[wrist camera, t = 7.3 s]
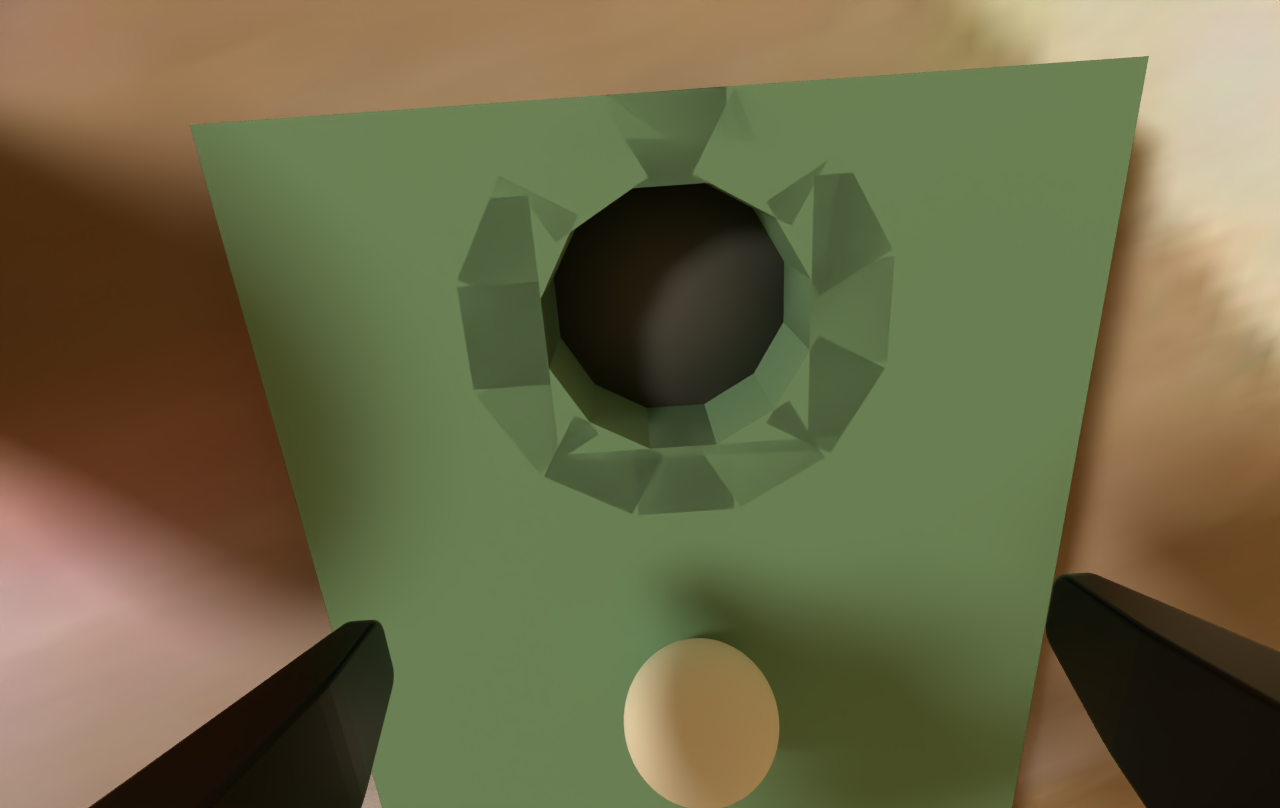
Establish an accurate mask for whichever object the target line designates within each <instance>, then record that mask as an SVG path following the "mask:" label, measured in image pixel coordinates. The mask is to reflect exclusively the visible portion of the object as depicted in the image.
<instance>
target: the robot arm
mask: <svg viewBox="0 0 1280 808" xmlns="http://www.w3.org/2000/svg"><path fill="white" fill-rule="evenodd" d="M1046 633H1047V638H1048V641H1049V643H1050V645H1051V647H1052V649H1053V651H1054V653H1055V655H1056V657H1057V658H1058V660H1059V662H1060V664H1061V666H1062V668H1063V669H1064V671H1065V673H1066V675H1067V677H1068V678H1069V680H1070V682H1071V684H1072V686H1073V688H1074V689H1075V691H1076V693H1077V695H1078V697H1079V699H1080V700H1081V702H1082V704H1083V706H1084V708H1085V710H1086V711H1087V713H1088V715H1089V717H1090V719H1091V720H1092V722H1093V724H1094V726H1095V728H1096V730H1097V731H1098V733H1099V735H1100V737H1101V738H1102V740H1103V742H1104V744H1105V745H1106V747H1107V749H1108V750H1109V752H1110V754H1111V755H1112V757H1113V758H1114V760H1115V761H1116V763H1117V765H1118V766H1119V768H1120V769H1121V771H1122V772H1123V774H1124V775H1125V777H1126V778H1127V780H1128V781H1129V783H1130V784H1131V786H1132V787H1133V789H1134V790H1135V792H1136V793H1137V795H1138V796H1139V798H1140V799H1141V800H1142V802H1143V803H1144V805H1145V806H1146V808H1280V652H1278V651H1276V650H1274V649H1271V648H1269V647H1267V646H1264V645H1262V644H1259V643H1257V642H1255V641H1252V640H1250V639H1248V638H1245V637H1243V636H1240V635H1238V634H1236V633H1233V632H1231V631H1229V630H1226V629H1224V628H1222V627H1219V626H1217V625H1214V624H1212V623H1210V622H1207V621H1205V620H1203V619H1200V618H1198V617H1195V616H1193V615H1191V614H1188V613H1186V612H1184V611H1181V610H1179V609H1176V608H1174V607H1172V606H1169V605H1167V604H1165V603H1162V602H1160V601H1158V600H1155V599H1153V598H1150V597H1148V596H1146V595H1143V594H1141V593H1139V592H1136V591H1134V590H1131V589H1129V588H1127V587H1124V586H1122V585H1120V584H1117V583H1115V582H1113V581H1110V580H1108V579H1105V578H1103V577H1101V576H1098V575H1096V574H1093V573H1075V574H1063V575H1060V576H1058V577H1057V578H1056V580H1055V581H1054V584H1053V588H1052V594H1051V599H1050V605H1049V610H1048V616H1047V621H1046ZM393 682H394V669H393V664H392V660H391V656H390V652H389V648H388V644H387V640H386V636H385V632H384V629H383V626H382V624H381V623H380V622H379V621H377V620H359V621H349V622H347V623H345V624H343V625H342V626H340V627H339V628H338V629H336V630H335V631H333V632H332V633H331V634H329V635H328V636H327V637H325V638H324V639H322V640H321V641H320V642H318V643H317V644H315V645H314V646H313V647H311V648H310V649H308V650H307V651H306V652H304V653H303V654H302V655H300V656H299V657H297V658H296V659H295V660H293V661H292V662H290V663H289V664H288V665H286V666H285V667H283V668H282V669H281V670H279V671H278V672H277V673H275V674H274V675H272V676H271V677H270V678H268V679H267V680H265V681H264V682H263V683H261V684H260V685H258V686H257V687H256V688H254V689H253V690H252V691H250V692H249V693H247V694H246V695H245V696H243V697H242V698H240V699H239V700H238V701H236V702H235V703H233V704H232V705H231V706H229V707H228V708H226V709H225V710H224V711H222V712H221V713H220V714H218V715H217V716H215V717H214V718H213V719H211V720H210V721H208V722H207V723H206V724H204V725H203V726H201V727H200V728H199V729H197V730H196V731H194V732H193V733H192V734H190V735H189V736H188V737H186V738H185V739H183V740H182V741H181V742H179V743H178V744H176V745H175V746H174V747H172V748H171V749H169V750H168V751H167V752H165V753H164V754H162V755H161V756H160V757H158V758H157V759H156V760H154V761H153V762H151V763H150V764H149V765H147V766H146V767H144V768H143V769H142V770H140V771H139V772H137V773H136V774H135V775H133V776H132V777H130V778H129V779H128V780H126V781H125V782H123V783H122V784H121V785H119V786H118V787H117V788H115V789H114V790H112V791H111V792H110V793H108V794H107V795H105V796H104V797H103V798H101V799H100V800H98V801H97V802H96V803H94V804H93V805H91V806H90V807H89V808H361V807H362V804H363V801H364V797H365V794H366V790H367V787H368V783H369V779H370V775H371V771H372V767H373V763H374V759H375V755H376V751H377V748H378V744H379V740H380V736H381V732H382V728H383V724H384V720H385V716H386V712H387V708H388V704H389V700H390V696H391V692H392V688H393Z"/></svg>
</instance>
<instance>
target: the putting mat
mask: <svg viewBox="0 0 1280 808" xmlns="http://www.w3.org/2000/svg"><path fill="white" fill-rule="evenodd" d="M1148 57H1149V56H1145V57H1132V58H1118V59H1104V60H1090V61H1076V62H1062V63H1048V64H1034V65H1020V66H1006V67H992V68H978V69H964V70H950V71H936V72H922V73H908V74H894V75H880V76H866V77H852V78H838V79H824V80H810V81H796V82H783V83H769V84H755V85H741V86H727V87H713V88H699V89H685V90H671V91H657V92H643V93H629V94H615V95H601V96H587V97H573V98H559V99H545V100H531V101H517V102H503V103H489V104H475V105H461V106H447V107H434V108H420V109H406V110H392V111H378V112H364V113H350V114H336V115H322V116H308V117H294V118H280V119H266V120H252V121H238V122H224V123H210V124H196V125H190V128H191V131H192V135H193V138H194V142H195V146H196V149H197V153H198V156H199V160H200V163H201V167H202V170H203V174H204V177H205V181H206V185H207V188H208V192H209V195H210V199H211V202H212V206H213V209H214V213H215V217H216V220H217V224H218V227H219V231H220V234H221V238H222V241H223V245H224V248H225V252H226V256H227V259H228V263H229V266H230V270H231V273H232V277H233V280H234V284H235V287H236V291H237V295H238V298H239V302H240V305H241V309H242V312H243V316H244V319H245V323H246V327H247V330H248V334H249V337H250V341H251V344H252V348H253V351H254V355H255V358H256V362H257V366H258V369H259V373H260V376H261V380H262V383H263V387H264V390H265V394H266V397H267V401H268V405H269V408H270V412H271V415H272V419H273V422H274V426H275V429H276V433H277V437H278V440H279V444H280V447H281V451H282V454H283V458H284V461H285V465H286V468H287V472H288V476H289V479H290V483H291V486H292V490H293V493H294V497H295V500H296V504H297V507H298V511H299V515H300V518H301V522H302V525H303V529H304V532H305V536H306V539H307V543H308V546H309V550H310V554H311V557H312V561H313V564H314V568H315V571H316V575H317V578H318V582H319V586H320V589H321V593H322V596H323V600H324V603H325V607H326V610H327V614H328V617H329V621H330V625H331V628H332V632H333V631H335V630H336V629H338V628H339V627H340V626H342V625H343V624H345V623H347V622H349V621H359V620H377V621H379V622H380V623H381V624H382V626H383V629H384V632H385V636H386V640H387V644H388V648H389V652H390V656H391V660H392V664H393V669H394V682H393V688H392V692H391V696H390V700H389V704H388V708H387V712H386V716H385V720H384V724H383V728H382V732H381V736H380V740H379V744H378V748H377V751H376V755H375V759H374V763H373V767H372V774H373V777H374V781H375V784H376V788H377V791H378V795H379V798H380V802H381V806H382V808H686V807H683V806H680V805H677V804H675V803H672V802H671V801H669V800H667V799H665V798H664V797H662V796H661V795H660V794H658V793H657V792H656V791H655V790H654V789H652V788H651V787H650V786H649V784H648V783H647V782H646V781H645V780H644V779H643V777H642V776H641V775H640V773H639V772H638V770H637V768H636V767H635V765H634V763H633V761H632V758H631V756H630V753H629V750H628V747H627V743H626V739H625V733H624V709H625V702H626V698H627V694H628V691H629V688H630V686H631V684H632V682H633V680H634V678H635V676H636V674H637V672H638V671H639V670H640V668H641V667H642V666H643V664H644V663H645V662H646V661H647V660H648V659H649V658H650V657H651V656H652V655H654V654H655V653H656V652H657V651H659V650H660V649H662V648H663V647H665V646H667V645H669V644H671V643H674V642H677V641H680V640H685V639H692V638H706V639H713V640H717V641H720V642H723V643H726V644H728V645H730V646H732V647H734V648H736V649H738V650H739V651H741V652H742V653H743V654H745V655H746V656H747V657H748V658H749V659H751V660H752V661H753V662H754V664H755V665H756V666H757V667H758V668H759V669H760V671H761V672H762V673H763V675H764V676H765V678H766V680H767V681H768V683H769V685H770V687H771V690H772V692H773V695H774V697H775V701H776V704H777V709H778V714H779V740H778V746H777V750H776V754H775V757H774V760H773V762H772V765H771V767H770V769H769V771H768V772H767V774H766V776H765V777H764V779H763V780H762V781H761V783H760V784H759V785H758V786H757V787H756V788H755V789H754V790H753V791H752V792H751V793H750V794H749V795H747V796H746V797H745V798H743V799H741V800H740V801H738V802H736V803H734V804H732V805H729V806H727V807H723V808H1012V805H1013V799H1014V794H1015V788H1016V783H1017V777H1018V772H1019V766H1020V761H1021V755H1022V750H1023V744H1024V739H1025V733H1026V728H1027V722H1028V717H1029V711H1030V706H1031V700H1032V695H1033V689H1034V684H1035V678H1036V673H1037V667H1038V662H1039V656H1040V651H1041V645H1042V640H1043V634H1044V629H1045V623H1046V618H1047V612H1048V607H1049V601H1050V596H1051V590H1052V585H1053V579H1054V574H1055V568H1056V563H1057V557H1058V552H1059V546H1060V541H1061V535H1062V530H1063V524H1064V519H1065V513H1066V508H1067V502H1068V497H1069V491H1070V486H1071V480H1072V475H1073V469H1074V464H1075V458H1076V453H1077V447H1078V442H1079V436H1080V431H1081V425H1082V420H1083V414H1084V409H1085V403H1086V398H1087V392H1088V387H1089V381H1090V376H1091V370H1092V365H1093V359H1094V354H1095V348H1096V343H1097V337H1098V332H1099V326H1100V321H1101V315H1102V310H1103V304H1104V299H1105V293H1106V288H1107V282H1108V277H1109V271H1110V266H1111V260H1112V255H1113V249H1114V244H1115V238H1116V233H1117V227H1118V222H1119V216H1120V211H1121V205H1122V200H1123V194H1124V189H1125V183H1126V178H1127V172H1128V167H1129V161H1130V156H1131V150H1132V145H1133V139H1134V134H1135V128H1136V123H1137V117H1138V112H1139V106H1140V101H1141V95H1142V90H1143V84H1144V79H1145V73H1146V68H1147V62H1148Z"/></svg>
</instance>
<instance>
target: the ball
mask: <svg viewBox="0 0 1280 808" xmlns="http://www.w3.org/2000/svg"><path fill="white" fill-rule="evenodd" d="M624 733H625V739H626V743H627V747H628V750H629V753H630V756H631V758H632V761H633V763H634V765H635V767H636V768H637V770H638V772H639V773H640V775H641V776H642V777H643V779H644V780H645V781H646V782H647V783H648V784H649V786H650V787H651V788H652V789H654V790H655V791H656V792H657V793H658V794H660V795H661V796H662V797H664V798H665V799H667V800H669V801H671V802H672V803H675V804H677V805H680V806H683V807H686V808H723V807H727V806H729V805H732V804H734V803H736V802H738V801H740V800H741V799H743V798H745V797H746V796H747V795H749V794H750V793H751V792H752V791H753V790H754V789H755V788H756V787H757V786H758V785H759V784H760V783H761V781H762V780H763V779H764V777H765V776H766V774H767V772H768V771H769V769H770V767H771V765H772V762H773V760H774V757H775V754H776V750H777V746H778V740H779V714H778V709H777V704H776V701H775V697H774V695H773V692H772V690H771V687H770V685H769V683H768V681H767V680H766V678H765V676H764V675H763V673H762V672H761V671H760V669H759V668H758V667H757V666H756V665H755V664H754V662H753V661H752V660H751V659H749V658H748V657H747V656H746V655H745V654H743V653H742V652H741V651H739V650H738V649H736V648H734V647H732V646H730V645H728V644H726V643H723V642H720V641H717V640H713V639H706V638H692V639H685V640H680V641H677V642H674V643H671V644H669V645H667V646H665V647H663V648H662V649H660V650H659V651H657V652H656V653H655V654H654V655H652V656H651V657H650V658H649V659H648V660H647V661H646V662H645V663H644V664H643V666H642V667H641V668H640V670H639V671H638V672H637V674H636V676H635V678H634V680H633V682H632V684H631V686H630V688H629V691H628V694H627V698H626V702H625V709H624Z"/></svg>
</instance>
